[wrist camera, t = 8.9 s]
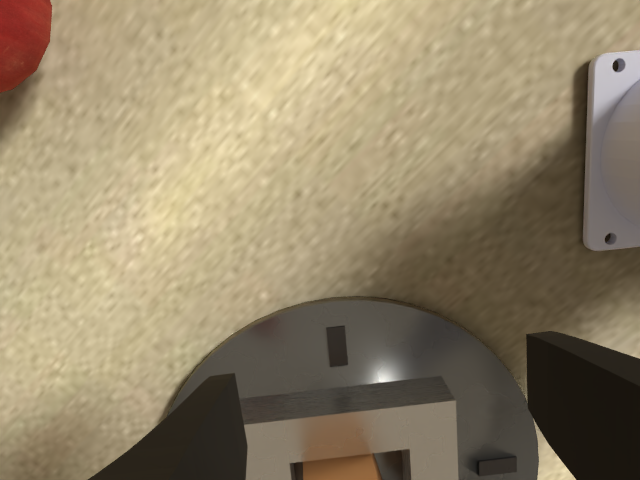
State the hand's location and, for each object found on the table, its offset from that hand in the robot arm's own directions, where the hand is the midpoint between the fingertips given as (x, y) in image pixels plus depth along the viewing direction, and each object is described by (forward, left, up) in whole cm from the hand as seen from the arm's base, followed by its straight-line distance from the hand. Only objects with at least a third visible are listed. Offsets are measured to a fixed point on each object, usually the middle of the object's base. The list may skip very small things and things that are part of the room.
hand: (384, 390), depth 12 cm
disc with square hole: (+1, +10, -9) cm, 14 cm away
